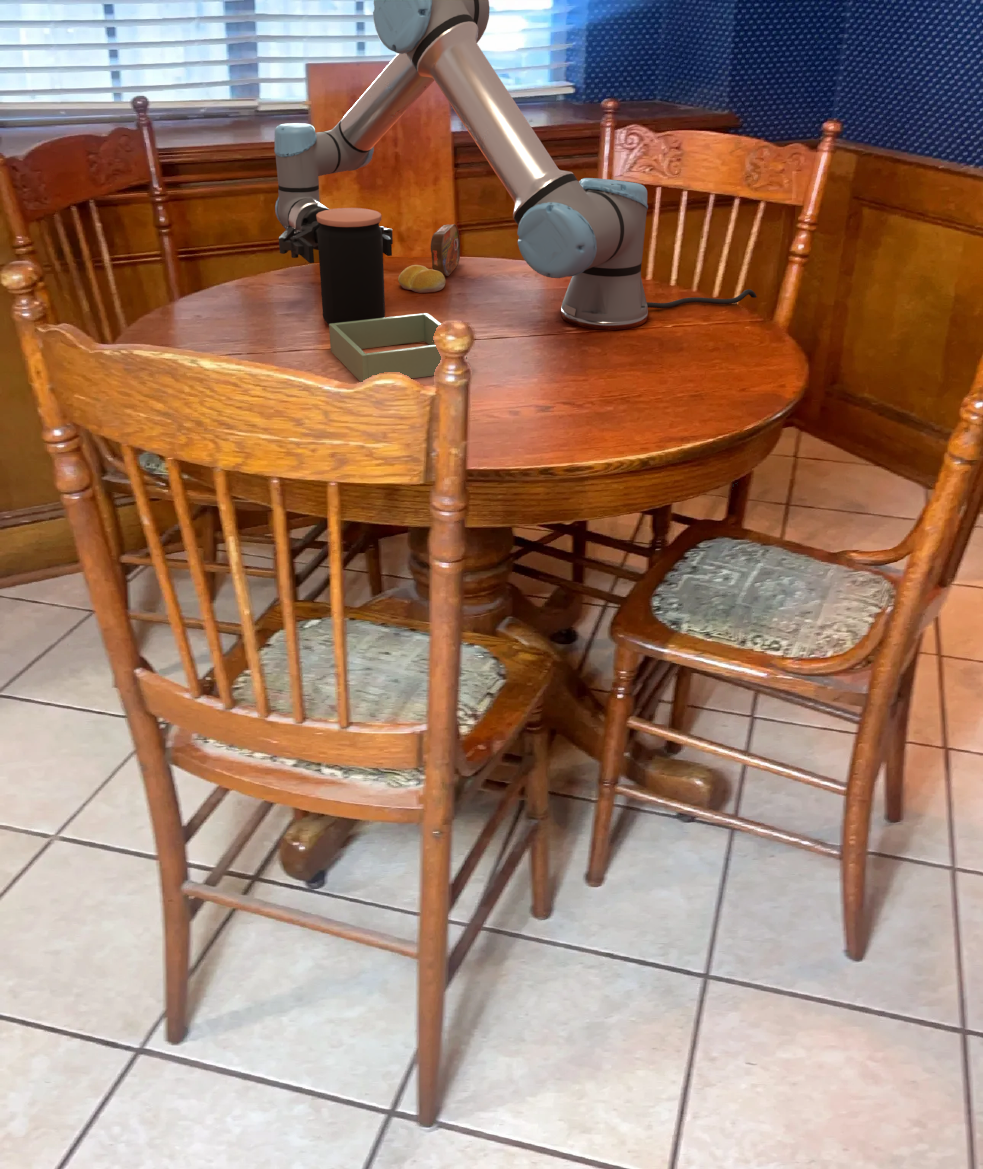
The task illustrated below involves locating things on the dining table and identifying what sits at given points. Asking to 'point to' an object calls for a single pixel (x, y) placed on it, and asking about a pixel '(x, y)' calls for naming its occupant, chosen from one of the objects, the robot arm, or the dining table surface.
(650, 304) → the robot arm
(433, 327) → the tray
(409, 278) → the bread roll
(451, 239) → the tin
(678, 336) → the dining table surface
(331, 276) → the coffee jar
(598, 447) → the dining table surface
